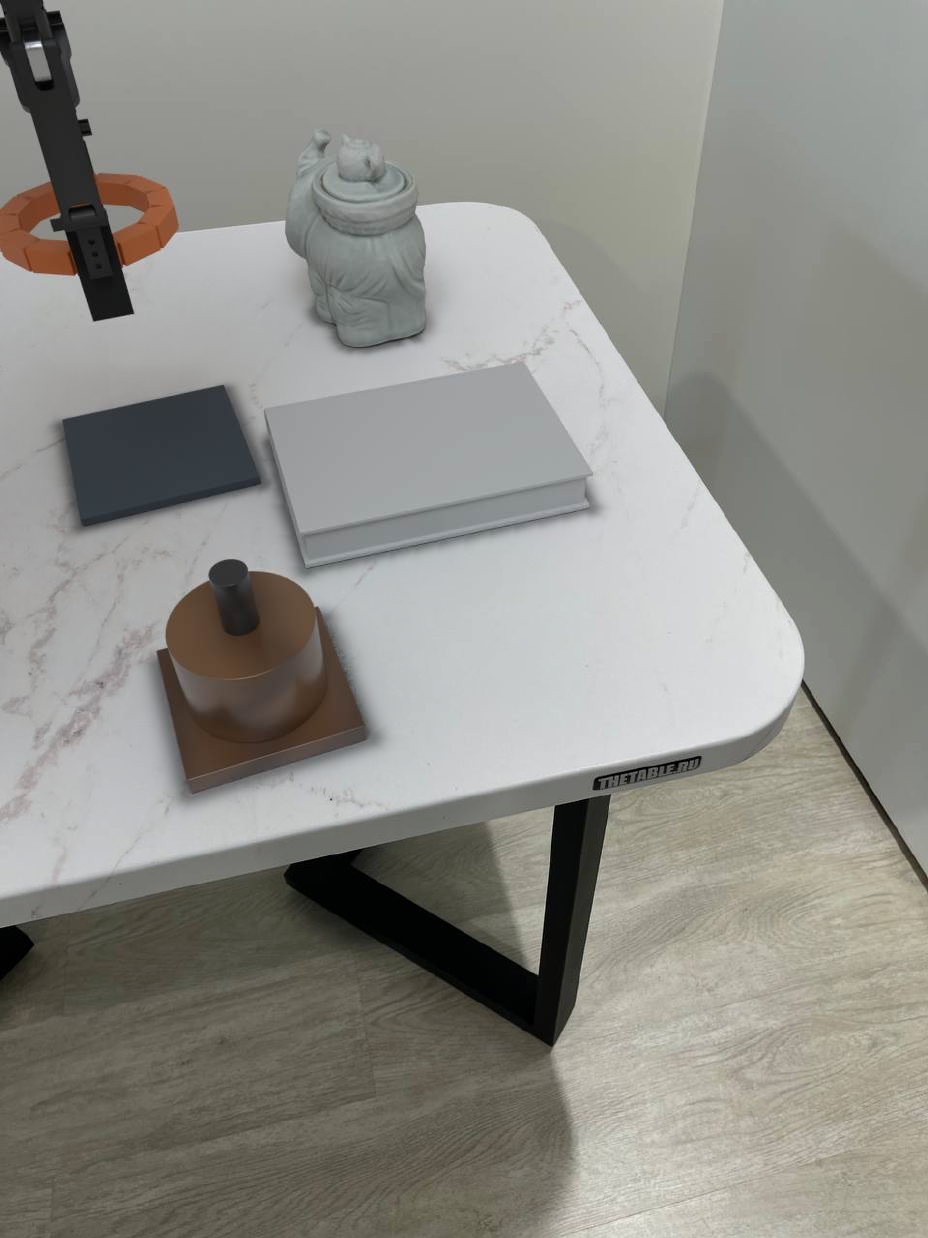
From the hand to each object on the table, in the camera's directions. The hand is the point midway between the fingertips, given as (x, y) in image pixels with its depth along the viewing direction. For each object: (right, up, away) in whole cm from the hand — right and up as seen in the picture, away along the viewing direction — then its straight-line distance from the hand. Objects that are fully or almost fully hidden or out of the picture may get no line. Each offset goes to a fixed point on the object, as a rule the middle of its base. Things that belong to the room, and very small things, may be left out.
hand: (102, 273), depth 71 cm
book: (+22, -12, +17) cm, 30 cm away
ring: (0, +2, -2) cm, 3 cm away
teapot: (+15, +8, +36) cm, 40 cm away
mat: (-2, -10, +19) cm, 21 cm away
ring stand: (+11, -30, 0) cm, 32 cm away
